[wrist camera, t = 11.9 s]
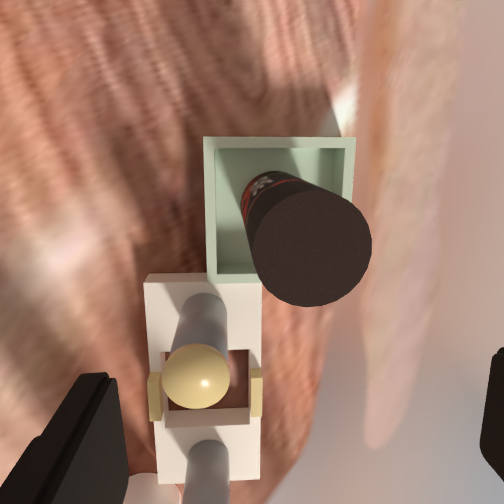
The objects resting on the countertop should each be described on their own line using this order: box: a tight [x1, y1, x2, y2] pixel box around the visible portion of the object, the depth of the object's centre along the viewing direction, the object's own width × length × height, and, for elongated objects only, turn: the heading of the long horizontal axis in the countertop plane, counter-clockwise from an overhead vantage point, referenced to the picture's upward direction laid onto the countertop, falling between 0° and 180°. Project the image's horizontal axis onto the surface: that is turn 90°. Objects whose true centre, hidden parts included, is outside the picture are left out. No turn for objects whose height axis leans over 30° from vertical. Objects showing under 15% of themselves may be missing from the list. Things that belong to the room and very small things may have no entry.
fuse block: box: [143, 273, 262, 504], centre depth 32 cm, size 21×10×12 cm, turn 179°
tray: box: [203, 136, 356, 284], centre depth 32 cm, size 12×12×4 cm
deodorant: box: [240, 171, 372, 307], centre depth 26 cm, size 6×6×15 cm
